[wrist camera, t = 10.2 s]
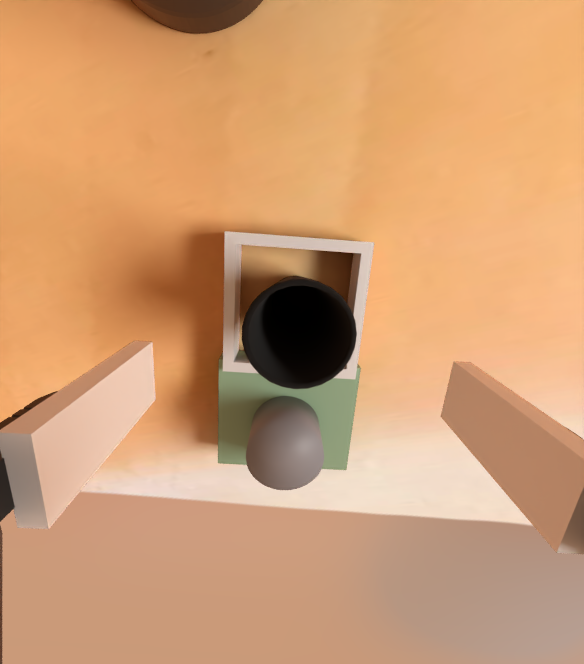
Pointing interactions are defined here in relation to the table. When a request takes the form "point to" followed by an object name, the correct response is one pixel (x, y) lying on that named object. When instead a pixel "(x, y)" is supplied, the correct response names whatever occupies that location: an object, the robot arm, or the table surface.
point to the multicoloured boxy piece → (279, 402)
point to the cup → (299, 333)
